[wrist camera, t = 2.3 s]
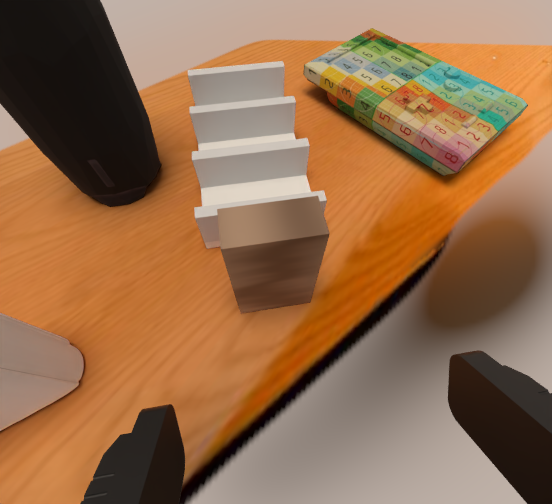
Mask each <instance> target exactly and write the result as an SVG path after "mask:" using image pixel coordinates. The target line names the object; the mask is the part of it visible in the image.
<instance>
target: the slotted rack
mask: <svg viewBox="0 0 552 504" xmlns="http://www.w3.org/2000/svg"><path fill="white" fill-rule="evenodd" d="M188 78H189V82H190V86H191V90H192V94H193V98H194V102H195V106H193V107H190V116H191V120H192V123H193V127H194V130H195V134H196V138H197V141H198V149H199V151H192V161H193V164H194V167H195V171H196V174H197V177H198V180H199V183H200V186H201V195H202V207H194V208H195V219H196V222H197V225H198V227H199V230H200V232H201V235H202V237H203V240H204V242H205V245H206V248H207V249H208V248H215V247H221V246H220V236H219V225H218V214H217V209H221V208H229V207H236V206H244V205H251V204H259V203H266V202H274V201H281V200H289V199H297V198H304V197H312V196H318V197H319V200H320V204H321V207H322V210H323V214H324V210H325V206H326V202H327V200H326V196H325V193H324V190H323V191H316V192H311V190H310V187H309V183H308V180H307V176H306V171H307V163H308V155H309V147H310V146H309V143H308V139H307V138H303V139H296V138H295V135H294V123H295V107H296V101H295V98H294V96H288V97H284V63H283V61H279V62H268V63H258V64H248V65H237V66H227V67H216V68H206V69H195V70H188Z"/></svg>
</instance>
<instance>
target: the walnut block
mask: <svg viewBox="0 0 552 504" xmlns="http://www.w3.org/2000/svg"><path fill="white" fill-rule="evenodd" d="M217 214H218V225H219V236H220V246H221V252H222V255H223V258H224V261H225V264H226V268H227V271H228V274H229V277H230V280H231V284H232V287H233V290H234V293H235V296H236V300H237V303H238V306H239V309H240V312H241V314H242V313H248V312H254V311H260V310H266V309H273V308H279V307H285V306H291V305H297V304H303V303H310V301H311V298H312V294H313V291H314V287H315V284H316V280H317V277H318V273H319V269H320V266H321V262H322V259H323V255H324V252H325V248H326V245H327V241H328V237H329V230H328V227H327V224H326V220H325V217H324V214H323V210H322V207H321V204H320V200H319V197H318V196H312V197H304V198H297V199H289V200H281V201H274V202H266V203H259V204H251V205H244V206H236V207H229V208H221V209H217Z"/></svg>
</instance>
